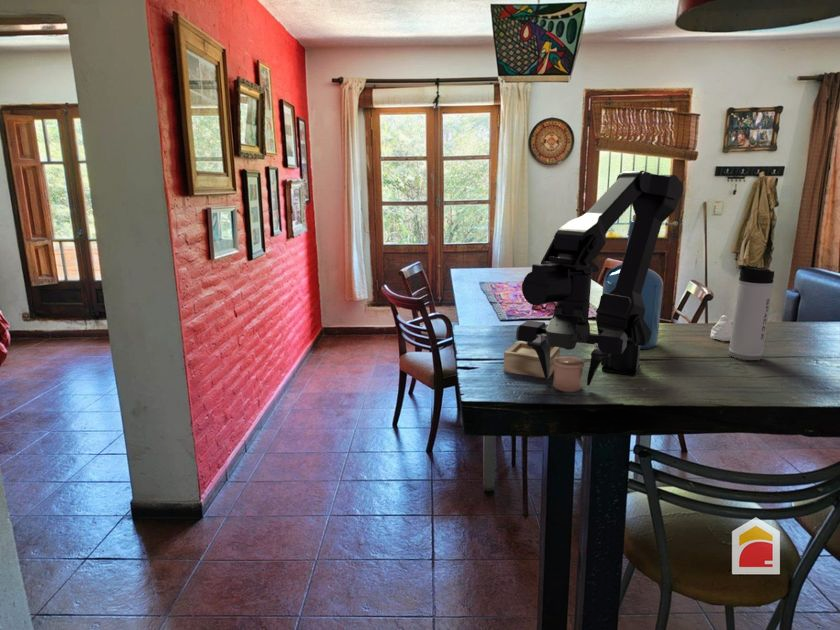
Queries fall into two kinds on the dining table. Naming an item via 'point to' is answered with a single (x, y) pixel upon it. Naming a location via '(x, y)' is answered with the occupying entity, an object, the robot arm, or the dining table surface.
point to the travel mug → (751, 313)
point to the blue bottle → (643, 295)
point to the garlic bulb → (722, 329)
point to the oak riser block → (527, 360)
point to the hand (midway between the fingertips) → (567, 381)
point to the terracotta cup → (568, 373)
